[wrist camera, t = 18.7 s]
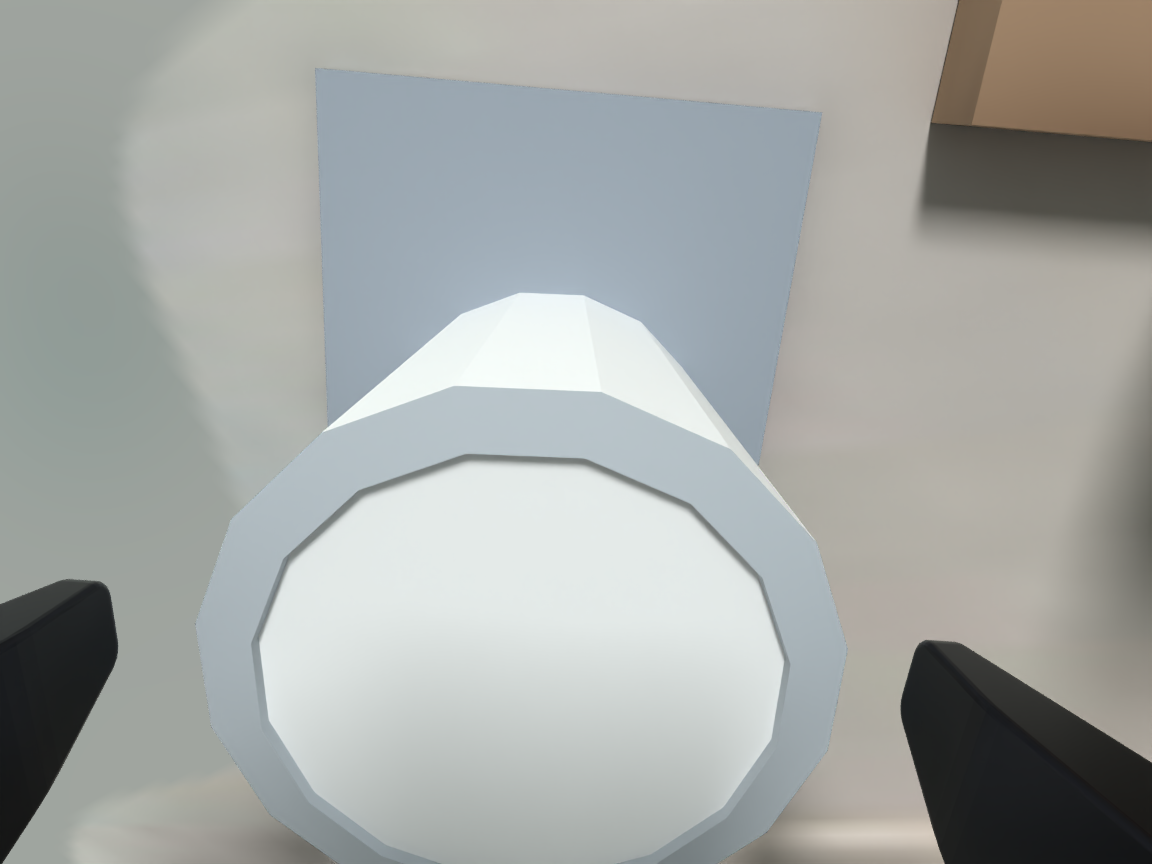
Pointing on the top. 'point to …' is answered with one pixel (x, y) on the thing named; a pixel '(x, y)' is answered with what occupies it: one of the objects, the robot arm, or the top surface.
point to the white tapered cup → (524, 612)
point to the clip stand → (1050, 67)
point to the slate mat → (558, 222)
